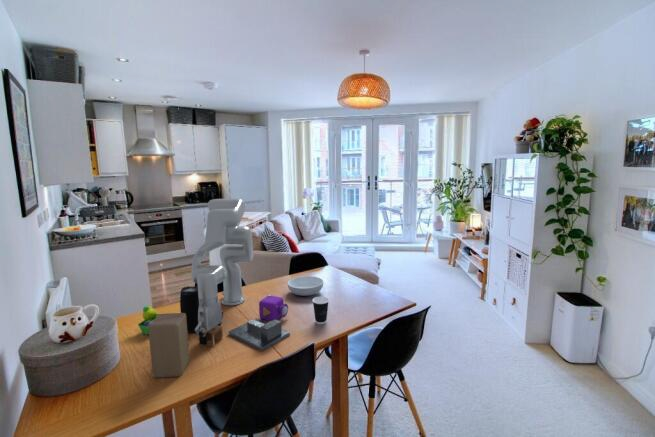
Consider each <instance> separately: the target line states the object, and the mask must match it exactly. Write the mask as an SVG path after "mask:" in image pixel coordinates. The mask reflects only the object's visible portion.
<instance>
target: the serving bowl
mask: <svg viewBox="0 0 655 437" xmlns="http://www.w3.org/2000/svg"><path fill="white" fill-rule="evenodd" d="M287 286H288V290H289V291H290V292H291V293H292V294H293V295H297V296H301V297H305V296H306V297H308V296H314V295H316V294H318V293H320V291H321V290H322V289H323V287H324V280H323V279H322V278H321V277H319V276H312V275H310V276H309V275H304V276H302V275H301V276H297V277H294V278H291V279H290V280H288V281H287Z"/></svg>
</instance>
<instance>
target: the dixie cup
mask: <svg viewBox="0 0 655 437" xmlns="http://www.w3.org/2000/svg"><path fill="white" fill-rule="evenodd" d="M329 301H330V298H328V297H326V296H315V297H313V298H312V304H313V313H314V319H315V324H317V325H324V324H326V323H327V319H328V310H329Z"/></svg>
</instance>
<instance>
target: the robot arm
mask: <svg viewBox="0 0 655 437" xmlns="http://www.w3.org/2000/svg"><path fill="white" fill-rule="evenodd" d="M207 208H208V210H209V211H208V214H207V217H206V218H207V219H206V226H205V227H206V229H205V238H204V239H205V240H204V242H203V244H202V245H201V246H200V247H199V248H198V249H197V250H196V252H195V254H194V255H193V258H192V261H191V270H190V278H191V280H192V282H194V284H195V283H196V284H197V286H198V297H199V310H198V325H197V327H196V328H195V332H196V333H195V334H196V335H197V336H198V341H199V340H200V344H199V345H202V346H207V336H205V335H206V332H207V330H208V331H209V330H211V329H212V328H214V327H215V326H216V325H218V326H222V324H223V322H222V321H223V317H224V311H222V306H221V304H222V305H224V306H236V305H240V304H243V303H244V302H245V300H246V297H245V296H244V295H243V289H242V287H243V285H242V284H243V283H242V270H241V267H240V265H239V264H238V263H251V262H252V261H253V259H254V244H253V236H252V234H253V233H252V230H251V228H250V227H249V226H245V225H244V226H243V225H240V224H241V223H242V219H243V217H244V214H245V210H246V209H245V208H246V206H245V202H244V200H243V199H241V198H214V199H210V200H209V201H208V203H207ZM220 247H221V248H220ZM218 248H220V250H219V258H220V263H221V264H218V265H216V264H215V265H201V263H202V260H203V258H204V257H205V255H207V254H208V253H210V252H212V251H214V250H216V249H218ZM221 283H222V284H223V291H222V292H221V295H222V296H223V298H222V299H221V301H220V300H219V295H218V285H219V284H221ZM202 330H204V332H203V333H202Z"/></svg>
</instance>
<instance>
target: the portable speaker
mask: <svg viewBox="0 0 655 437" xmlns="http://www.w3.org/2000/svg"><path fill="white" fill-rule="evenodd" d="M179 310H180V313H185V314H186V320H187V332H191V334H196V332H195V328H196V327H197V325H198V310H199V297H198V285H196V286H184V287H182V288H181V290H180V295H179Z"/></svg>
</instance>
